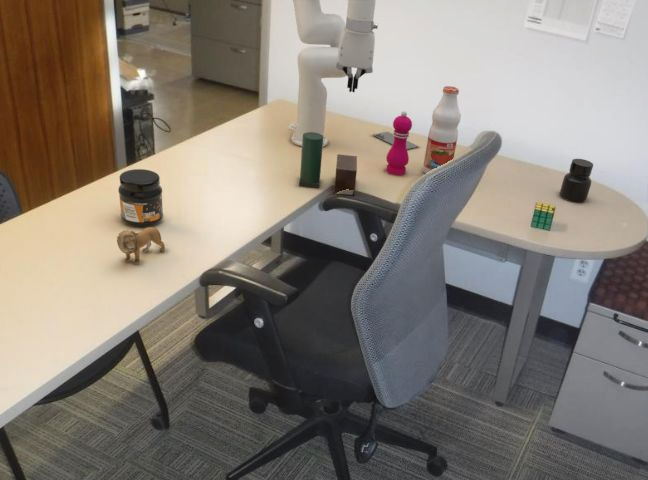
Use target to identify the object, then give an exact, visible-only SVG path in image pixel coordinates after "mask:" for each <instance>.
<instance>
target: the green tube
mask: <svg viewBox="0 0 648 480" xmlns="http://www.w3.org/2000/svg"><path fill="white" fill-rule="evenodd" d="M323 148H324V147H323V135H321V134H319V133H314V132H307V133H304V134H303V140H302V146H301V157H300V172H299V173H300V174H299V181H298V187H302V188H313V189H320V183H321V170H322V157H323Z"/></svg>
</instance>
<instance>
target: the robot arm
mask: <svg viewBox="0 0 648 480" xmlns="http://www.w3.org/2000/svg"><path fill="white" fill-rule="evenodd" d="M292 2H293V3H292V4H293V7H294V15H295V16H294V17H295V23H296V30H297V34H298V37H299V40H300V41H301V43H303V44H306V45H314V46H307V47H304V48H302V49H301V50H300V51H299V52H298V55H297V69H298V97H297V114H296V115H297V116H296V123H293V122H291V123H289V126H288V128H287V130H288V131H290V132H293V135H291V138H290V139H291V142H292V143H293V144H294V145H296V146H299V147H302V140H303V134H304V133H307V132H314V133H319V134H321V135H323V147H322V148H324V147H326V146H328V143H329V139H328V138H327V137H326V136H325V129H326V128H325V126H326V116H327V115H326V113H327V103H328V102H327V101H328V90H327V87H326V86H325V84H324V83H323V81H322V79H333V78H334V79H337V78H338V79H340V78H345V77H347V87H346V88H347V89H348V93H351V92H352V93H355V92H356V91H355V90H358V86H359V79H360V78H361V77H362V76H363V75H365V74H372V73H373V72H374V69H373V63H374V56H375V39H376V38H375V36H376V35H375V31H373V30H378V27H379V26H378V25H379V23H376V22H375V21H374V18H375V9H376V2H377V0H347V9H346V19H345V21H344V18H342V16H340V15H339V14H336V13H324V12H323V11H322V8H321V7H322V6H321V0H292ZM315 45H318V46H315ZM320 45H321V46H320ZM352 68H353V69H356V71H355V74H354V76H353V70H352Z"/></svg>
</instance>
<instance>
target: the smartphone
mask: <svg viewBox="0 0 648 480" xmlns="http://www.w3.org/2000/svg"><path fill="white" fill-rule="evenodd" d="M372 136H373V137H375V138H377V139H379V140H381V141H383V142H385V143H387V144H389V145H392V146H393V143H394V135H393V133H391V132H389V131H385V132H380V133H375V134H373V135H372ZM416 148H419V145H417V144H414V143H412V142H410V141H408V140H406V149H407V150H411V149H416Z"/></svg>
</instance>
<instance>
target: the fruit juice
mask: <svg viewBox="0 0 648 480" xmlns="http://www.w3.org/2000/svg"><path fill="white" fill-rule="evenodd" d="M442 88H443V89H442V95H441V98H440V100H439V102H438V104H437V105H436V107H435V108H434V109H433V110H432V114H431V118H432V119H431V121H432V124H431V125H430V128H429V131H428V136H427V140H426V141H427V142H426V147H425V152H424V153H425V154H424V160H423V165H422V171H423V173H424V174H425V175H427V174H426V173H427V172H429V171H431V170H432V169H434V168H437V167H438V166H441V165H443V164H445V163H447V162H448V161H450V160H452V159H453V158H455V153H456V148H457V142H458V137H459V130H458V127H459V125H460V122H461V119H462V115H461V111H460V109H459V103H458V96H459V93H460V90H459V88H458V87H456V86H450V85H446V86H444V87H442ZM453 160H454V159H453Z"/></svg>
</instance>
